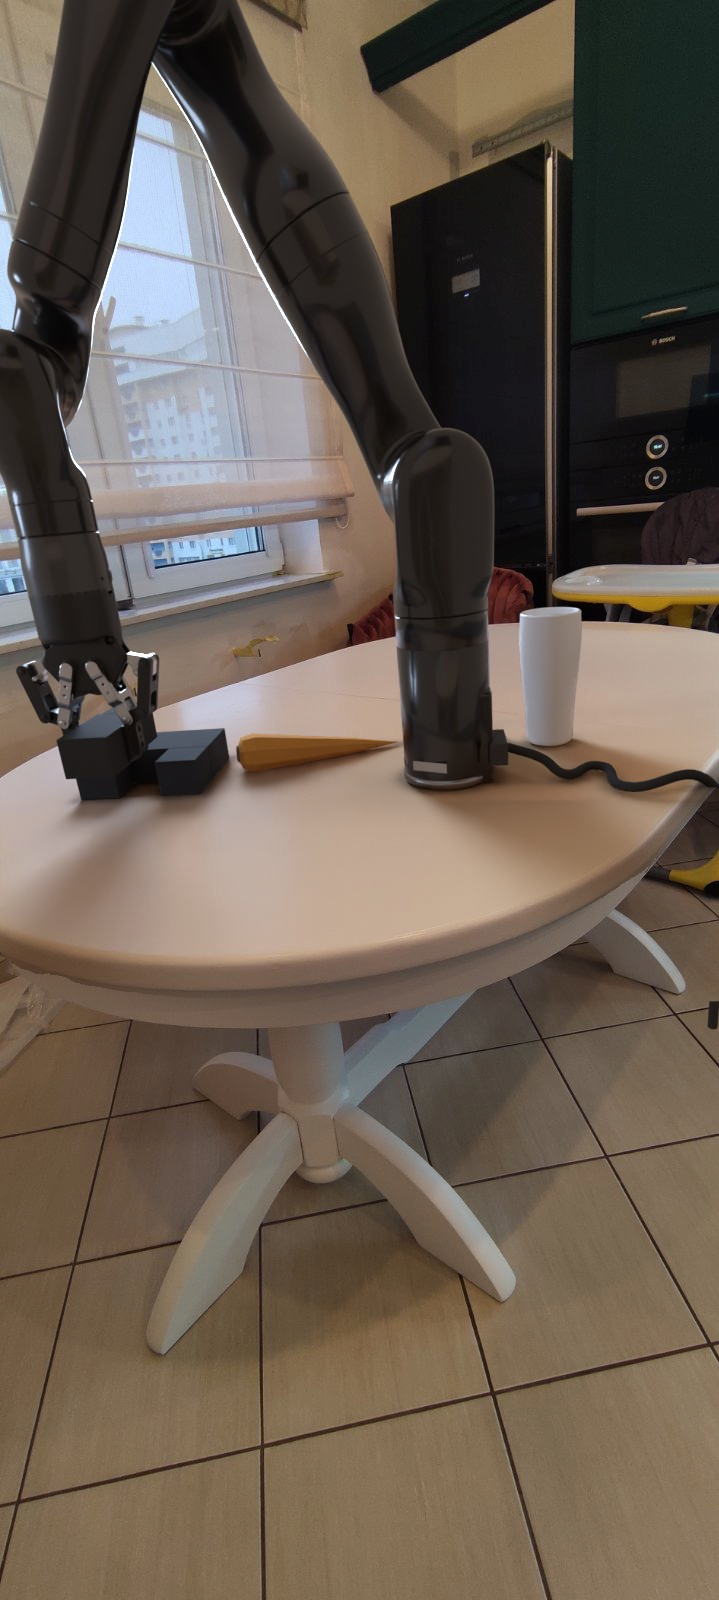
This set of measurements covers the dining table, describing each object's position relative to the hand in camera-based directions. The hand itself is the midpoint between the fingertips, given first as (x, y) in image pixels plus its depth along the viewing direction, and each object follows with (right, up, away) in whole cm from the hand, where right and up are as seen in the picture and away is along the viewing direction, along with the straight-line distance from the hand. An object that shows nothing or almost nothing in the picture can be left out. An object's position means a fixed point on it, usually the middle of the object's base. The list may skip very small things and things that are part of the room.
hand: (109, 759), depth 73 cm
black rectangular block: (0, 0, +2) cm, 2 cm away
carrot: (+21, +1, +14) cm, 25 cm away
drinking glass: (+48, +3, +12) cm, 50 cm away
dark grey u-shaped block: (+2, -2, +12) cm, 13 cm away
